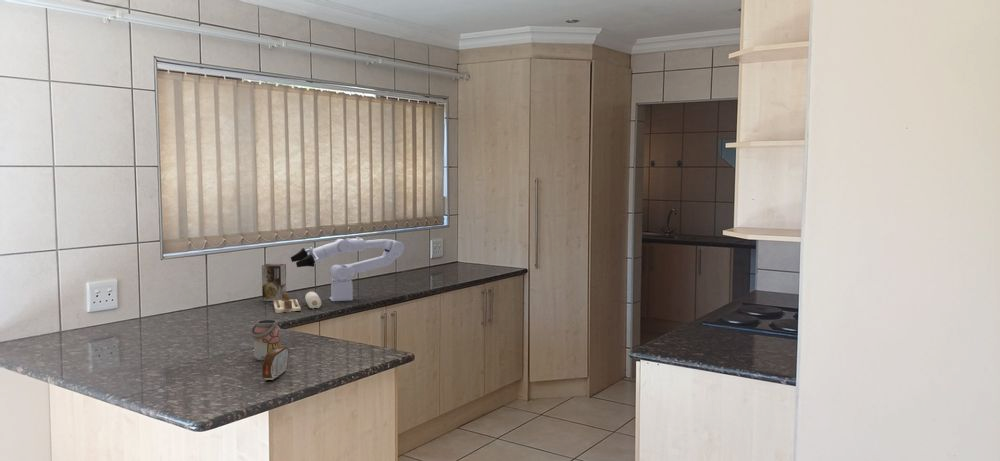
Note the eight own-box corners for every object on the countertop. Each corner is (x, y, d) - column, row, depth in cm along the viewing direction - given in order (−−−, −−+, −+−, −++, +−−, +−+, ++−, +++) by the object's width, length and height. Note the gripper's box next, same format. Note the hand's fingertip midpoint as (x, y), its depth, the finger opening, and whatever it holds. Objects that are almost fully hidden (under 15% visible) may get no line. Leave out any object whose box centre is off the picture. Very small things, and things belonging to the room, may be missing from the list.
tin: (280, 369, 224) (280, 342, 223) (290, 369, 224) (290, 342, 223) (261, 384, 209) (260, 355, 208) (271, 384, 209) (271, 356, 208)
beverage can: (263, 364, 229) (262, 326, 228) (245, 359, 233) (244, 322, 232) (286, 357, 237) (285, 321, 236) (268, 353, 241) (268, 317, 240)
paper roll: (317, 303, 325) (318, 291, 324) (321, 309, 313) (321, 296, 312) (304, 304, 323) (305, 291, 322) (307, 309, 311) (308, 296, 310)
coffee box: (286, 298, 333) (286, 263, 331) (281, 301, 327) (280, 265, 325) (267, 298, 334) (267, 263, 332) (261, 300, 328) (261, 265, 326)
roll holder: (296, 302, 325) (296, 292, 325) (300, 311, 306) (300, 301, 306) (273, 303, 322) (273, 293, 321) (275, 313, 303) (275, 302, 302)
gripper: (315, 239, 332) (286, 249, 326) (326, 248, 320) (296, 259, 314) (319, 253, 335) (290, 263, 329) (330, 263, 323) (300, 273, 317)
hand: (293, 262), depth 322 cm, fingers open, 7 cm apart
